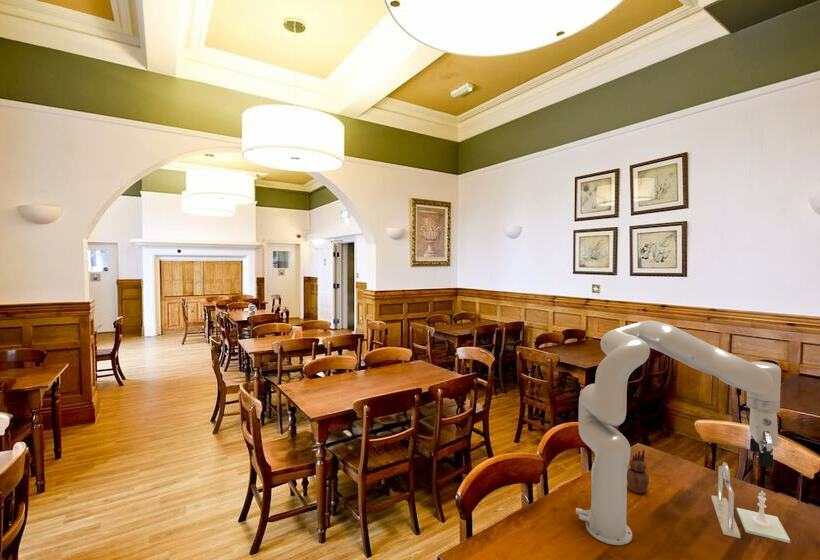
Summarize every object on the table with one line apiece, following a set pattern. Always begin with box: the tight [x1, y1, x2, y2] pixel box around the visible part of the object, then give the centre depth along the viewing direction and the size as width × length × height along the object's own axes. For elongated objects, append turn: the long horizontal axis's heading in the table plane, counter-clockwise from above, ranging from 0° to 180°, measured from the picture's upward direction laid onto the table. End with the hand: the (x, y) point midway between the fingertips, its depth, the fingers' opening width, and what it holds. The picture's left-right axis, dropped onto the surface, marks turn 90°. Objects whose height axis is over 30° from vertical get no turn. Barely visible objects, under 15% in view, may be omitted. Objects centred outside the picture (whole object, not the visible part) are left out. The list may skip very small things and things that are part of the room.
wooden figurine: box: [627, 449, 650, 494], centre depth 142 cm, size 7×6×15 cm
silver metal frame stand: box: [711, 461, 741, 539], centre depth 127 cm, size 4×20×17 cm, turn 151°
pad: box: [736, 507, 791, 544], centre depth 123 cm, size 10×12×1 cm
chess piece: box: [751, 490, 772, 528], centre depth 123 cm, size 5×5×10 cm
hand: (760, 458), depth 123 cm, fingers open, 9 cm apart
